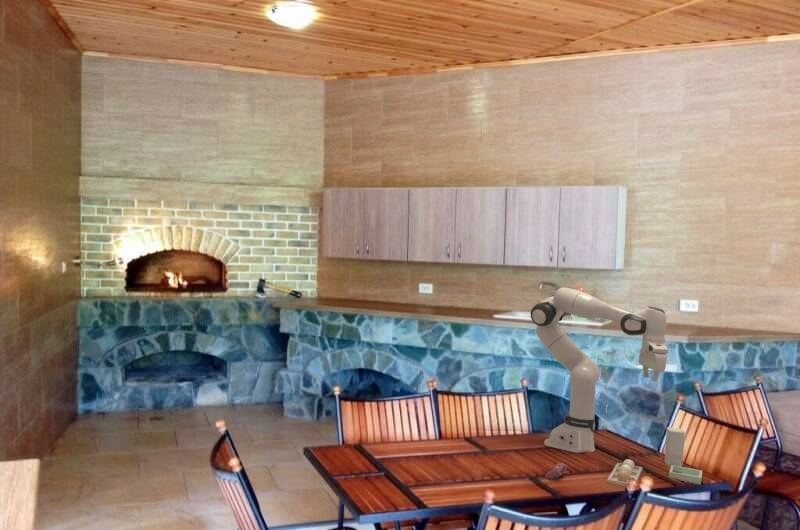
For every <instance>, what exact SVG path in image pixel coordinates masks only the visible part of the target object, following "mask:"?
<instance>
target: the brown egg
mask: <svg viewBox="0 0 800 530" xmlns="http://www.w3.org/2000/svg"><path fill="white" fill-rule="evenodd" d="M617 479H618V480H619V481H621V482H626V481H628V479H629V474H628V472H627V471H625V470H620V471H618V473H617Z"/></svg>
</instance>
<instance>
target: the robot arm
mask: <svg viewBox="0 0 800 530" xmlns="http://www.w3.org/2000/svg"><path fill="white" fill-rule="evenodd" d="M566 313H567V314H570V315H573V316H575V317H578V318H583V319H588V320H589V319H590V320H593V319H597V320H598V319H599V320H600V319H602V320H603V319H604V320H607V321H612V322H614V323H617V324H619V325H620V329H621V331H622V332H623V333H624V334H626V335H628V336H631V337H632V336H635V337H636V336H642V342H641V348H640V349H639V355H638V364H639V365H641V366H642V372H643V374H642V375H643V378H649V376H650V375H649V374H650V373H649V370H653V371H652V372H653V374H652V376H651V381H653V382H658V378H659V377H660V373H664V372H665V370H666V365H667V358H668V357H667V354H668V353H669V347H667V346H666V343H665V342H666V341H665V340H666V339H665V332H666V330H667V314H666V312H665V311H664V309H661V308H659V307H656V306H655V307H654V306H647V307H645V308H643V309H641V310H638V311H635V312H634V311H629V310H626V309H622V308H620V307H617V306H614V305H611V304H608V303H606V302H605V301H603V300H601V299H598V298H597V297H595V296H593V295H591V294H589V293H586V292H584V291H581V290H578V289H575V288H570V287H564V286H562V287H560V288H557V290H556V291H555V293H554V294H553V295H550V296H548V297H546V298H545V297H544V299H542V300H541V301H540V302H538V303H537V304H535V305H534V306H533V307H532V308H531V310H530V319H531V321H532V322H533V323H534V324H535V325H536V326H537V327H536V329H535V334H536V335H537V338H538V339H539V340H540V342H541V343H542V345H543V346H544V347H545V348H546V350H547V351H548V352H549V353H550V355H551V356H552V357H553V358H554V359H555V360H556V362H557V363H559V364H560V365H561V366H563V368H565V369H566V370H567V371H568V372H570V375H569V379H570V380H569V390H570V391H569V392H570V394H569V395H570V400H569V401H570V402H569V411H568V413H566V414H565V415H564V418H563V423H561V424H559V425H558V426H556V427H554V428H553V429H552V430H551V432H550V435H549V438H546V439H545V440H544V441H543V445H544V446H545V447H546V446H547V447H549V448H555V449H559V450H562V451H567V452H571V453H578V454H579V453H587V452H590V453H593V452H595V451H596V449H595V441H594V440H595V439H594V432H595V429H596V428H595V427H596V419H595V414H596V413H595V412H596V402H597V400H596V383H597V381H598V380H599V378H600V376H601V371H600V367H599V366H598V364H596V362H594V361H593V360H592V359H591V358H590V357H589V356H588V355H587V354H586V353H585V352H584V351H583V350H581V349H580V348H579V347H578V345H576V344H575V342H574V341H573V340H572V339H571V338H570V337H569V336H568V335H567V334H566V332H565V331H564V330H563V329H562V328H561V327H560V324H559V322H561V321H562V320H563V318H564V316H565V315H566Z"/></svg>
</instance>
